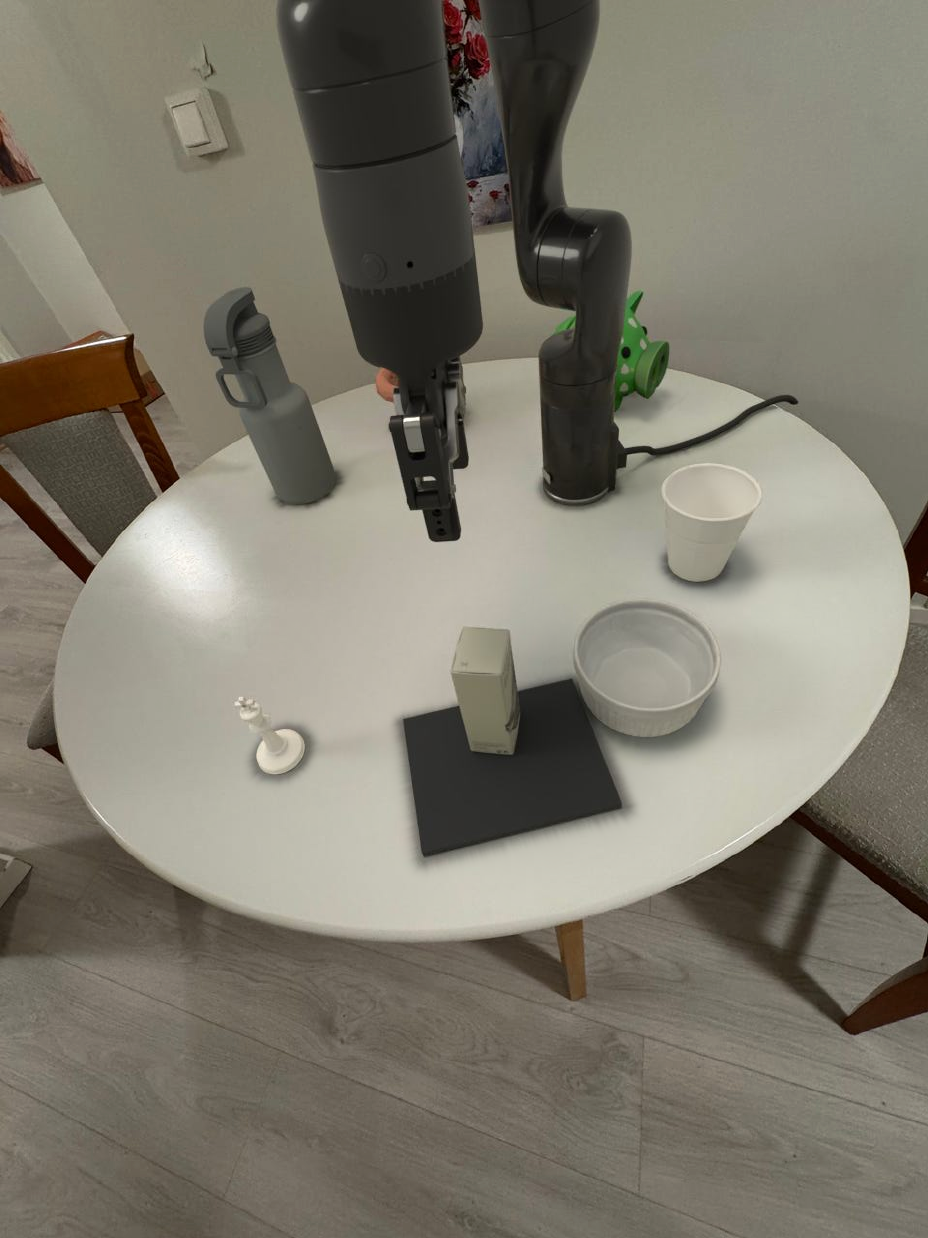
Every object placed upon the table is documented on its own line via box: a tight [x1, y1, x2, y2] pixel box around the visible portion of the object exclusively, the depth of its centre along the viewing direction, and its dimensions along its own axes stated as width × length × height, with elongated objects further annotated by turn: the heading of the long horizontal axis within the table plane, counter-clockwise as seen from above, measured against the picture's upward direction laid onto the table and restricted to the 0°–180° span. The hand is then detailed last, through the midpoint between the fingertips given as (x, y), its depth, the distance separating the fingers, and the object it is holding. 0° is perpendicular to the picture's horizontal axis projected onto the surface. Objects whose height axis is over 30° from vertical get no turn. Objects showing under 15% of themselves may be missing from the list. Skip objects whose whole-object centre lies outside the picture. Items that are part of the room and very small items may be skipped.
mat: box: [402, 678, 623, 857], centre depth 56 cm, size 18×14×1 cm
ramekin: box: [572, 598, 722, 738], centre depth 56 cm, size 13×13×7 cm
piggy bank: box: [550, 290, 670, 414], centre depth 91 cm, size 14×18×15 cm
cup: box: [661, 462, 763, 583], centre depth 65 cm, size 10×10×11 cm
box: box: [450, 626, 520, 755], centre depth 53 cm, size 5×4×13 cm
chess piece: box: [234, 696, 306, 775], centre depth 56 cm, size 5×5×10 cm
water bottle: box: [203, 286, 337, 505], centre depth 81 cm, size 10×10×28 cm
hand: (451, 499), depth 43 cm, fingers open, 8 cm apart
